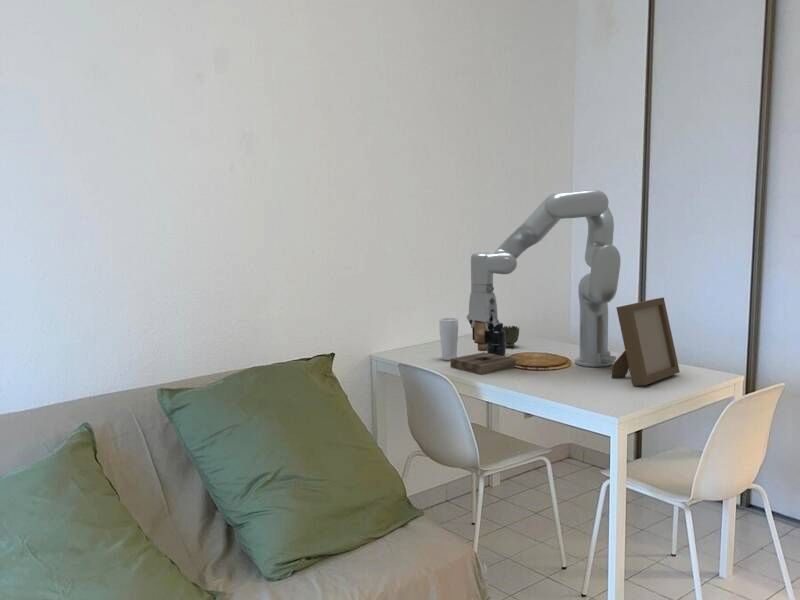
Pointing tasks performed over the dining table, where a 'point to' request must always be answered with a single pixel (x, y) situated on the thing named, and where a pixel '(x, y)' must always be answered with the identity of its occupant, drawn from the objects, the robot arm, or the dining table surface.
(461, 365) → the walnut socket block
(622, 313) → the photo frame
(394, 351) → the dining table surface
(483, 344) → the tan translucent cylinder
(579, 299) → the robot arm
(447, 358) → the drinking glass
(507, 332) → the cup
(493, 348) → the supplement bottle
